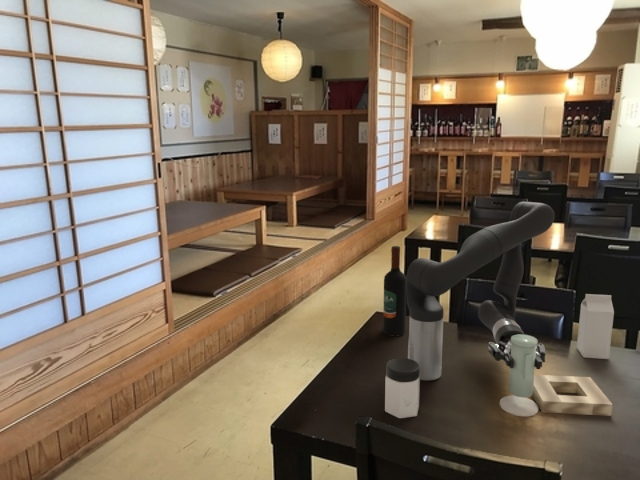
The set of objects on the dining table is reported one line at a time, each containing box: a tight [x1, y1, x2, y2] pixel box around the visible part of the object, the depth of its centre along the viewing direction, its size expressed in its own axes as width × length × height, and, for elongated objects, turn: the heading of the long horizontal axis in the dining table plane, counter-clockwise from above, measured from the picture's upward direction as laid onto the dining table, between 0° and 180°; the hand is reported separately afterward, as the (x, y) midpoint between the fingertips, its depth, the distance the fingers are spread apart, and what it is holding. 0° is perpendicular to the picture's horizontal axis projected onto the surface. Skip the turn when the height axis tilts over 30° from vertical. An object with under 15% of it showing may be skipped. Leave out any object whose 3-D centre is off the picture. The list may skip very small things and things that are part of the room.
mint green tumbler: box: [508, 334, 539, 398], centre depth 126 cm, size 6×8×14 cm
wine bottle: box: [382, 245, 407, 337], centre depth 174 cm, size 8×8×30 cm
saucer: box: [499, 395, 539, 418], centre depth 129 cm, size 9×9×1 cm
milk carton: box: [576, 293, 615, 360], centre depth 156 cm, size 7×7×19 cm
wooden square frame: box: [532, 374, 613, 417], centre depth 132 cm, size 16×14×3 cm
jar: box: [384, 357, 421, 419], centre depth 127 cm, size 9×8×12 cm
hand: (525, 365), depth 124 cm, fingers closed on mint green tumbler, 5 cm apart
